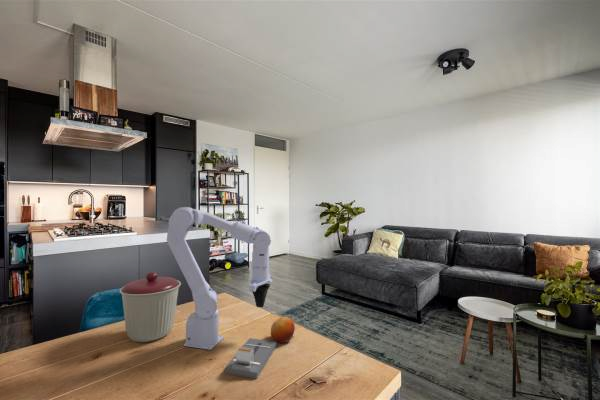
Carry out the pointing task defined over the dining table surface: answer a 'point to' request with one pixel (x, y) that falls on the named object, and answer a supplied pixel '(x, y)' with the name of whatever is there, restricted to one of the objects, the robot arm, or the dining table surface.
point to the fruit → (282, 330)
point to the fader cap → (245, 356)
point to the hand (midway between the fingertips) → (260, 306)
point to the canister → (149, 307)
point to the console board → (261, 356)
